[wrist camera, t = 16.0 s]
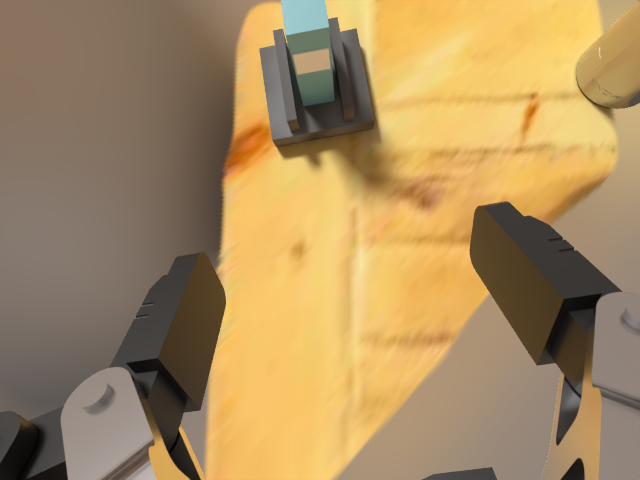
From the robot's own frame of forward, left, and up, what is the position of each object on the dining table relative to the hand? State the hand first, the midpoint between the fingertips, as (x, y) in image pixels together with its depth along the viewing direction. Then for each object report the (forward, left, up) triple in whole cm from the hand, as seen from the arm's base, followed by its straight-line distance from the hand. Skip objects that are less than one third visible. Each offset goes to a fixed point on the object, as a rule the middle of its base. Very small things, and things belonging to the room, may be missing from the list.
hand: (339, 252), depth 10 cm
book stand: (-16, -19, -31) cm, 40 cm away
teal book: (-16, -19, -29) cm, 38 cm away
